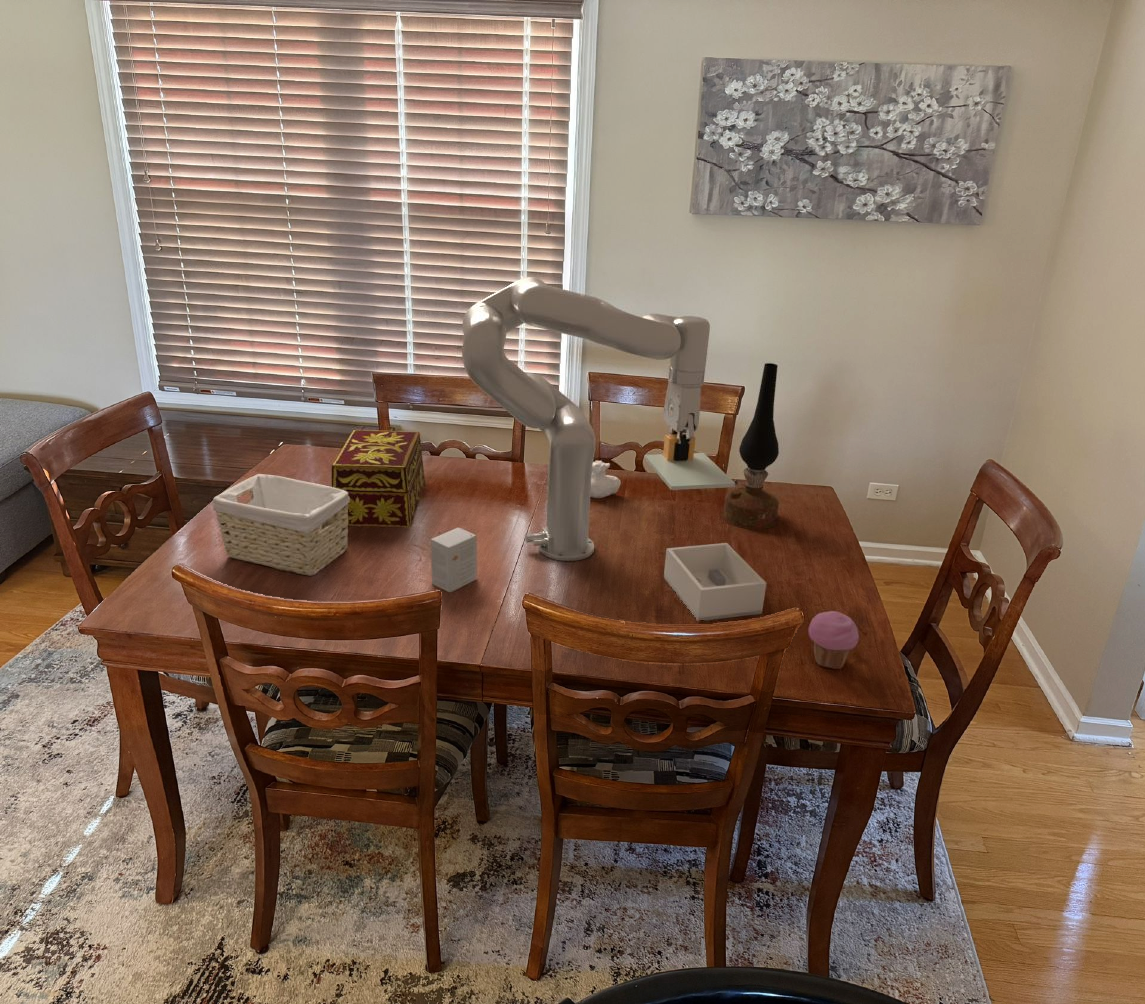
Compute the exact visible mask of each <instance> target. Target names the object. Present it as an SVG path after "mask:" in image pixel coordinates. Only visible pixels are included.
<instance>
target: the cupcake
mask: <svg viewBox="0 0 1145 1004" xmlns="http://www.w3.org/2000/svg"><path fill="white" fill-rule="evenodd" d="M858 630H859V629H858V626H857V624H856V623H855V621H854V620H853V619H852V618H851V617H850V616H848V615H846V614H844V613H842V612H839V611H835V610H829V611H824V612H820V613H817V614H816V615H815V616H814V617H813V618H812V619H811V621H810V624H809V626H808V629H807V631H808V636H809V638H810V639H811V641H813V655H814V660H815V662H816V663H817V665H819V666H821V667H824V668H830V669H835V670H840V669H842V668H843V667H844V666H845V663H846V660H847V657H848V656H849V653H850V651H851V650H852V649H854V648H855V647H856V646H857V644H858V642H859V640H860V635H859V631H858Z"/></svg>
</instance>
